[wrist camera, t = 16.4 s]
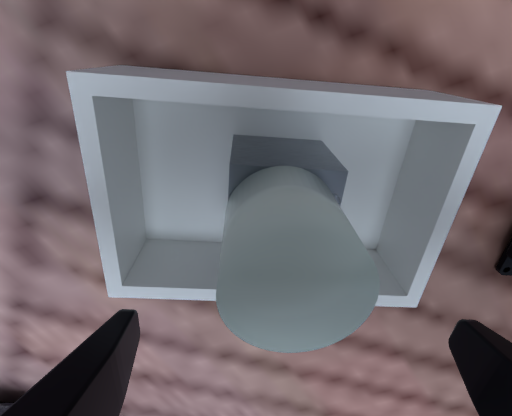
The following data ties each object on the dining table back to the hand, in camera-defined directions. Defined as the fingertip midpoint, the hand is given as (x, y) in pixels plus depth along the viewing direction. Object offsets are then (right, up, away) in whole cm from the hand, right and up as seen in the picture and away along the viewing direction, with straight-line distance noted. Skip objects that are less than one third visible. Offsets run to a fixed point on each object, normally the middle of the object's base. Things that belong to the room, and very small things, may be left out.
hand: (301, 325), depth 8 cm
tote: (0, +5, +11) cm, 12 cm away
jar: (0, +3, +5) cm, 6 cm away
